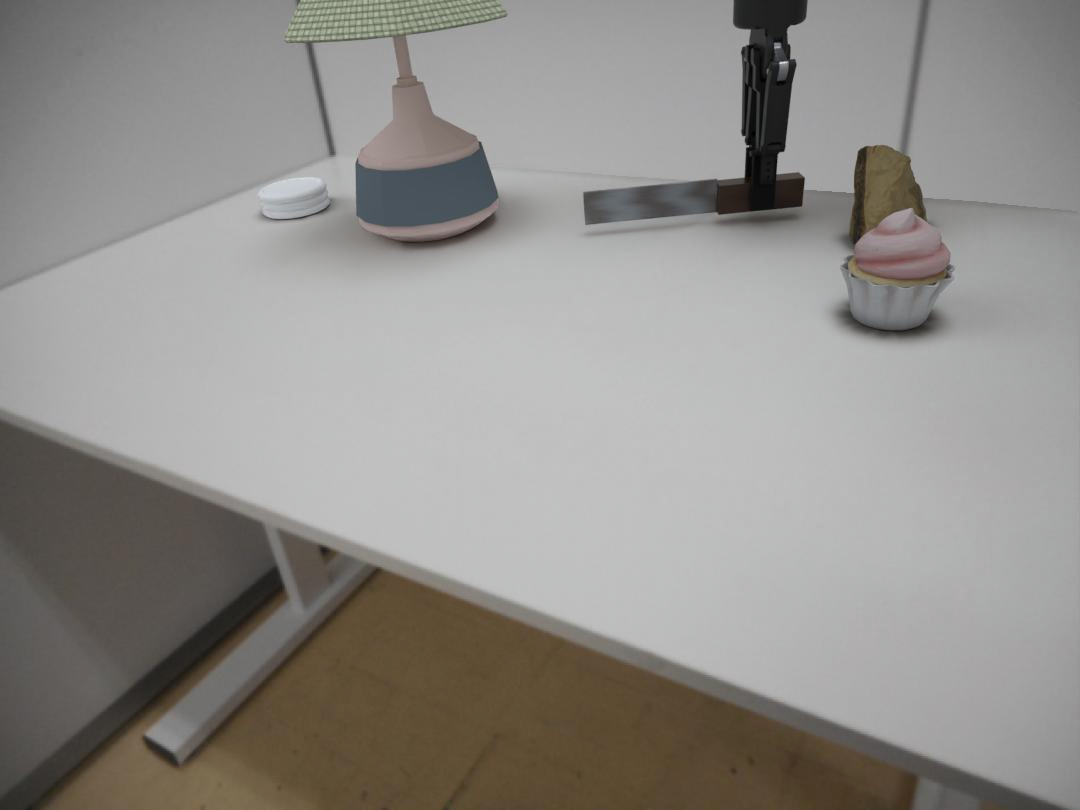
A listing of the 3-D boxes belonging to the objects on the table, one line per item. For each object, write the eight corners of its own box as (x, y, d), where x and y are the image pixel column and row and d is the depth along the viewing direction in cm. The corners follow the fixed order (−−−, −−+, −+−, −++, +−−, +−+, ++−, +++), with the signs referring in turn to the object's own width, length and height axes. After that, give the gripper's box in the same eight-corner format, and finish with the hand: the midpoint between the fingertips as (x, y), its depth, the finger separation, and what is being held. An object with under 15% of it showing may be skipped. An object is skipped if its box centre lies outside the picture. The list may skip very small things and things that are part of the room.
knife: (796, 200, 91) (799, 167, 89) (802, 206, 89) (805, 173, 87) (584, 221, 92) (582, 189, 90) (585, 227, 90) (583, 195, 88)
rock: (913, 191, 88) (830, 188, 87) (955, 142, 80) (864, 138, 79) (929, 272, 84) (842, 268, 83) (974, 228, 76) (879, 224, 75)
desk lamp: (573, 214, 99) (546, -180, 76) (389, 282, 84) (290, -177, 62) (463, 182, 116) (415, -146, 94) (294, 235, 102) (190, -138, 79)
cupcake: (923, 351, 62) (948, 235, 56) (815, 323, 67) (829, 216, 62) (961, 309, 67) (987, 200, 62) (859, 287, 73) (875, 185, 68)
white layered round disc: (311, 194, 118) (305, 172, 116) (342, 205, 112) (337, 182, 110) (252, 212, 113) (245, 189, 111) (281, 225, 106) (274, 200, 104)
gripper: (719, -17, 84) (714, 189, 97) (753, -8, 71) (742, 229, 84) (786, -25, 84) (772, 183, 96) (833, -17, 71) (810, 222, 83)
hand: (758, 204), depth 90 cm, fingers closed on knife, 2 cm apart
